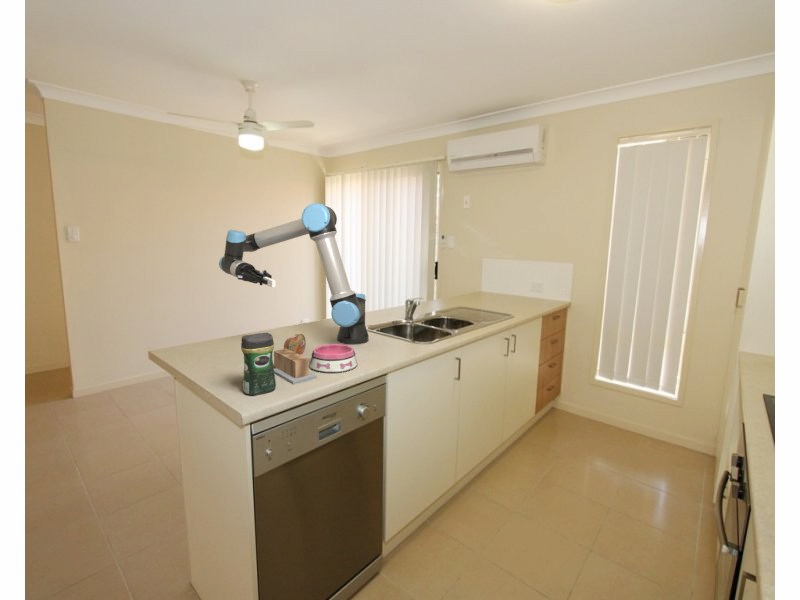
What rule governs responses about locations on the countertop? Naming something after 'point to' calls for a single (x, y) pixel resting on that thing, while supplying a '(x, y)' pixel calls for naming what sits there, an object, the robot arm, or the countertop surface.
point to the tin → (296, 343)
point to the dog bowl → (333, 359)
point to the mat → (292, 379)
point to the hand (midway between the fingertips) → (273, 283)
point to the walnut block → (291, 363)
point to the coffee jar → (258, 363)
